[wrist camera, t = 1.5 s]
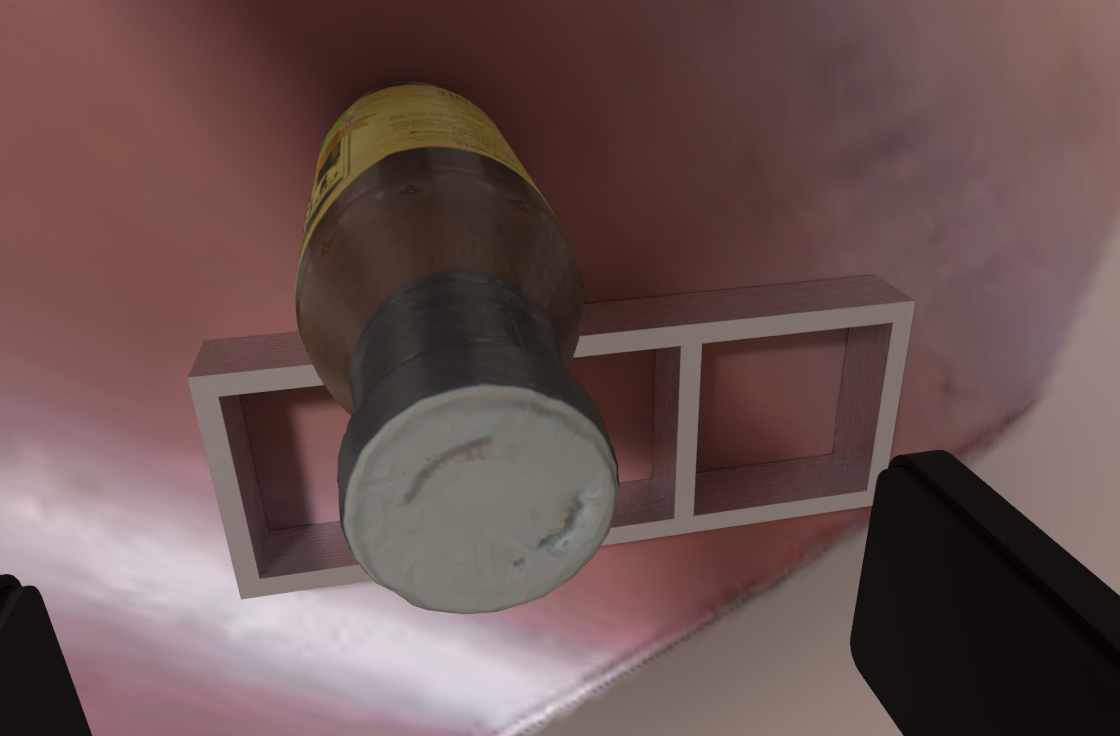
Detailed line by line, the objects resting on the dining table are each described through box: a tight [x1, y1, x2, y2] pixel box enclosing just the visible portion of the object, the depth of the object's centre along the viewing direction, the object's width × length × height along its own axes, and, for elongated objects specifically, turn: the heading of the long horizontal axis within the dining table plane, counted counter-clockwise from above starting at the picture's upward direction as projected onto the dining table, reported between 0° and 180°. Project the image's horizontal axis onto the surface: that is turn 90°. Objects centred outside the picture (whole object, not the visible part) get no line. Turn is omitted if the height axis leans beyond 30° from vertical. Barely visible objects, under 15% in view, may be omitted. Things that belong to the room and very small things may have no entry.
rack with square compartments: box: [188, 275, 915, 599], centre depth 33 cm, size 9×26×3 cm, turn 91°
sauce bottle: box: [294, 81, 619, 614], centre depth 20 cm, size 6×6×20 cm
